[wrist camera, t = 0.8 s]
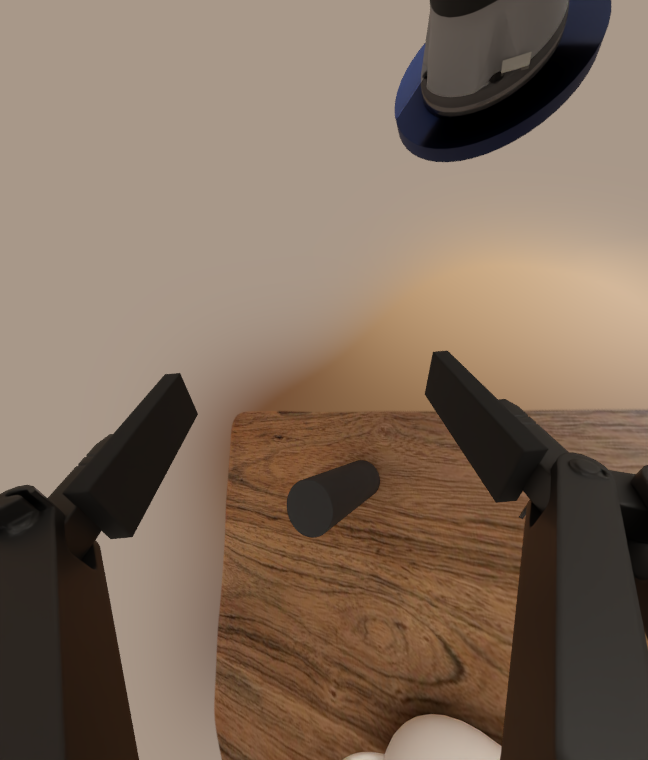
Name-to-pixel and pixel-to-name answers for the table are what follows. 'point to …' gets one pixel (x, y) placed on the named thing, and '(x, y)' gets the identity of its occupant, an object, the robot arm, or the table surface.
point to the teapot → (436, 742)
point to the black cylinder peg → (330, 497)
